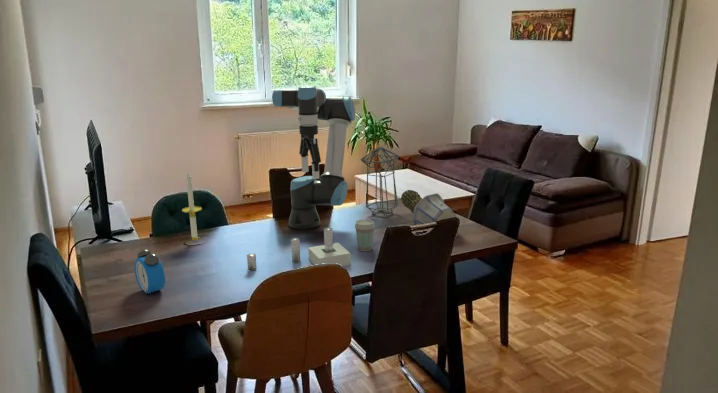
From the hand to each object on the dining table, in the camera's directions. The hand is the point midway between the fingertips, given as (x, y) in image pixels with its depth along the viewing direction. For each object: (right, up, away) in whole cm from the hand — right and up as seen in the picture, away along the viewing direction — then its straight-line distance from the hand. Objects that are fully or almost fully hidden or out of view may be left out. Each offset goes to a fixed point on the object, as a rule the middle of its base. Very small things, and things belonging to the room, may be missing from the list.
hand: (310, 175), depth 236 cm
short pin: (-22, -37, -15) cm, 46 cm away
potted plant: (+52, -24, +30) cm, 64 cm away
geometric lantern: (+31, -18, +51) cm, 63 cm away
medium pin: (-5, -35, -8) cm, 37 cm away
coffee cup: (+23, -31, +4) cm, 39 cm away
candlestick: (-53, -29, +16) cm, 63 cm away
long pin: (+8, -35, -9) cm, 37 cm away
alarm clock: (-54, -43, -33) cm, 77 cm away
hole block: (+8, -35, -9) cm, 37 cm away
